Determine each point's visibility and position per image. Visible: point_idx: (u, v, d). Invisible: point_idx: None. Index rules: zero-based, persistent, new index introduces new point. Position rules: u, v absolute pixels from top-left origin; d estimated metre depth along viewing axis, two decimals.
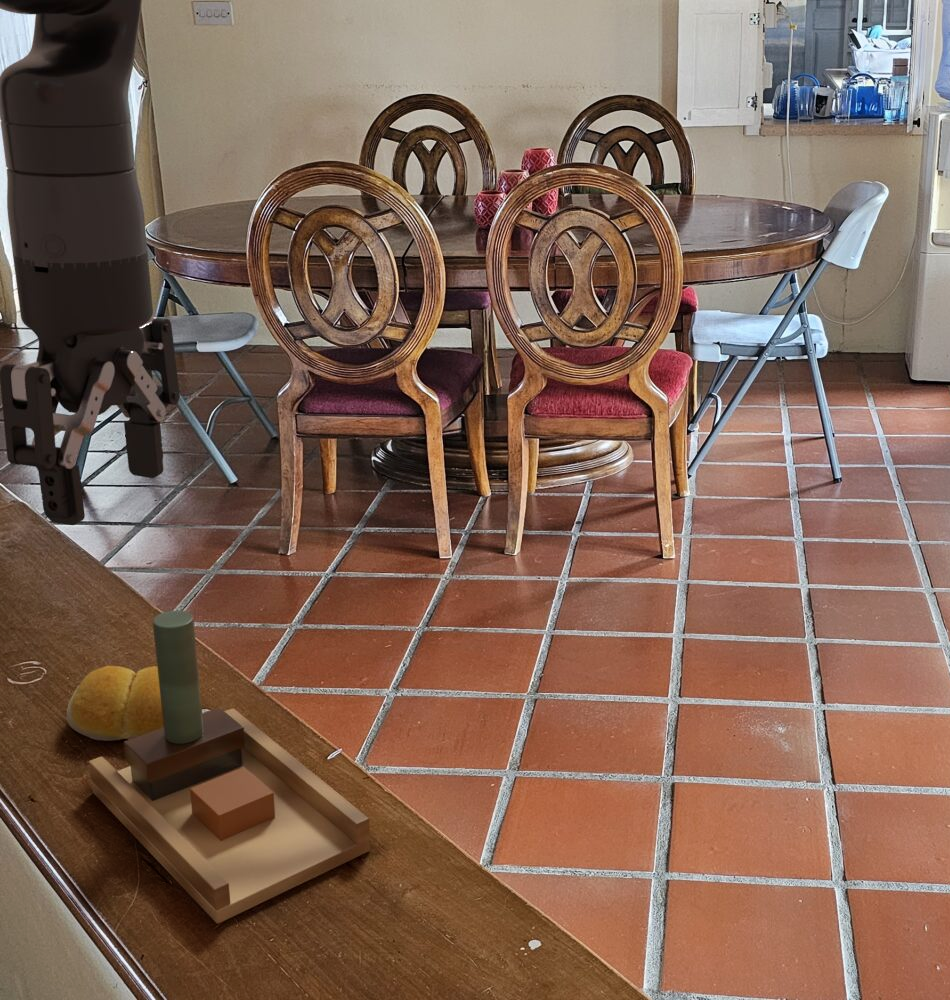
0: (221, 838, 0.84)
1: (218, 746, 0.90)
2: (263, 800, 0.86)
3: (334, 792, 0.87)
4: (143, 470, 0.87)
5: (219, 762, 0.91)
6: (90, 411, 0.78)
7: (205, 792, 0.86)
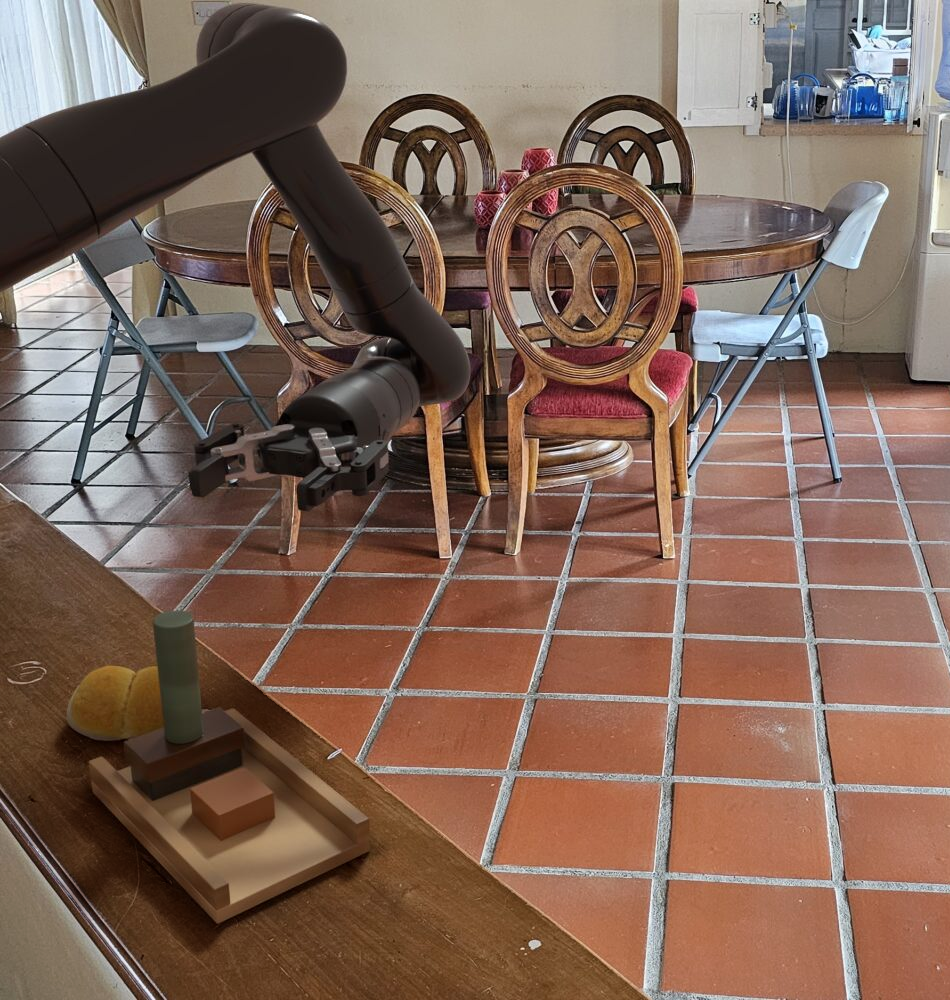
0: (221, 838, 0.84)
1: (218, 746, 0.90)
2: (263, 800, 0.86)
3: (334, 792, 0.87)
4: (202, 484, 0.96)
5: (219, 762, 0.91)
6: None
7: (205, 792, 0.86)
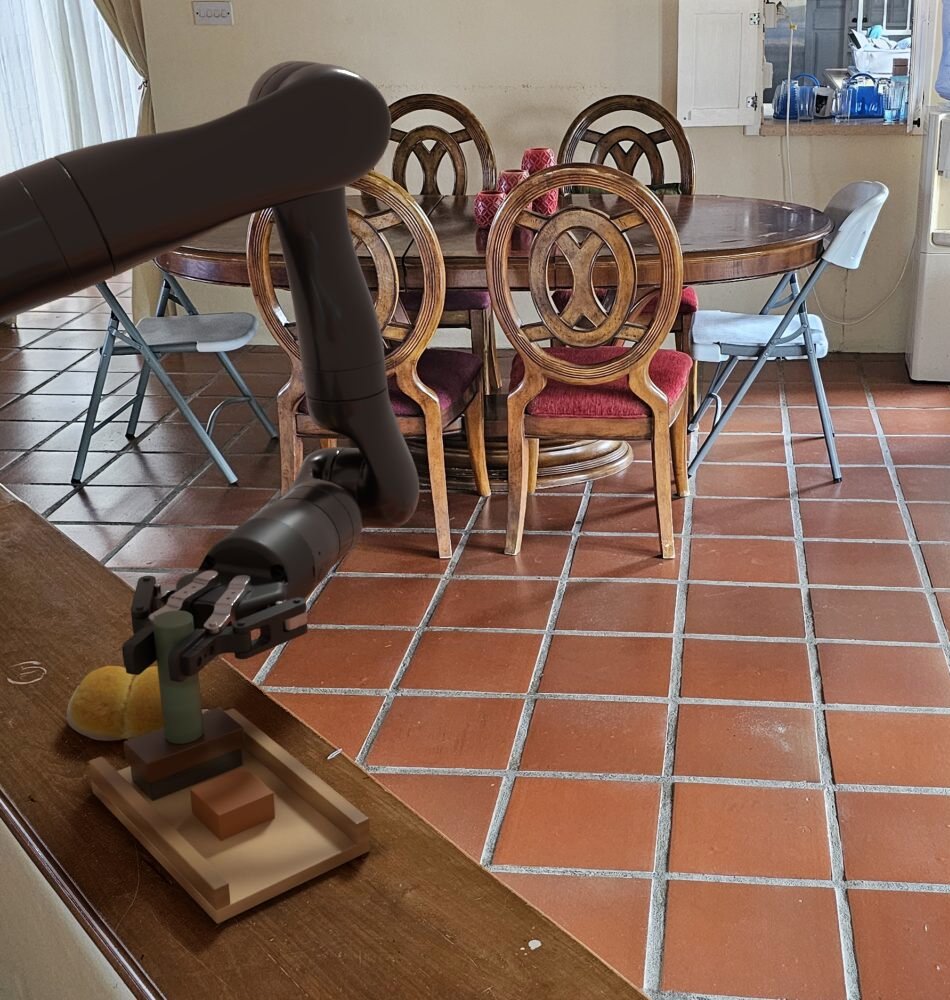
0: (221, 838, 0.84)
1: (218, 746, 0.90)
2: (263, 800, 0.86)
3: (334, 792, 0.87)
4: (138, 660, 0.85)
5: (219, 762, 0.91)
6: None
7: (205, 792, 0.86)
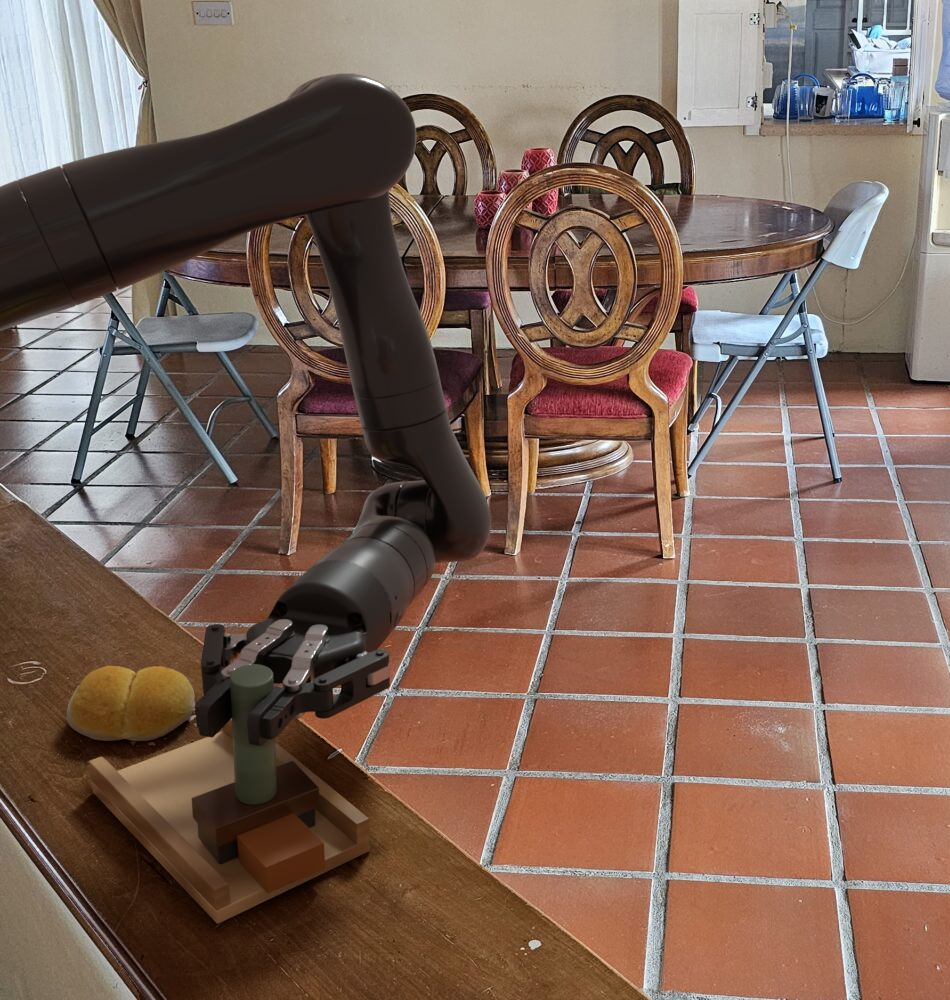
0: (268, 891, 0.80)
1: (291, 808, 0.84)
2: (313, 851, 0.81)
3: (334, 792, 0.87)
4: (212, 721, 0.79)
5: None
6: None
7: (253, 840, 0.81)
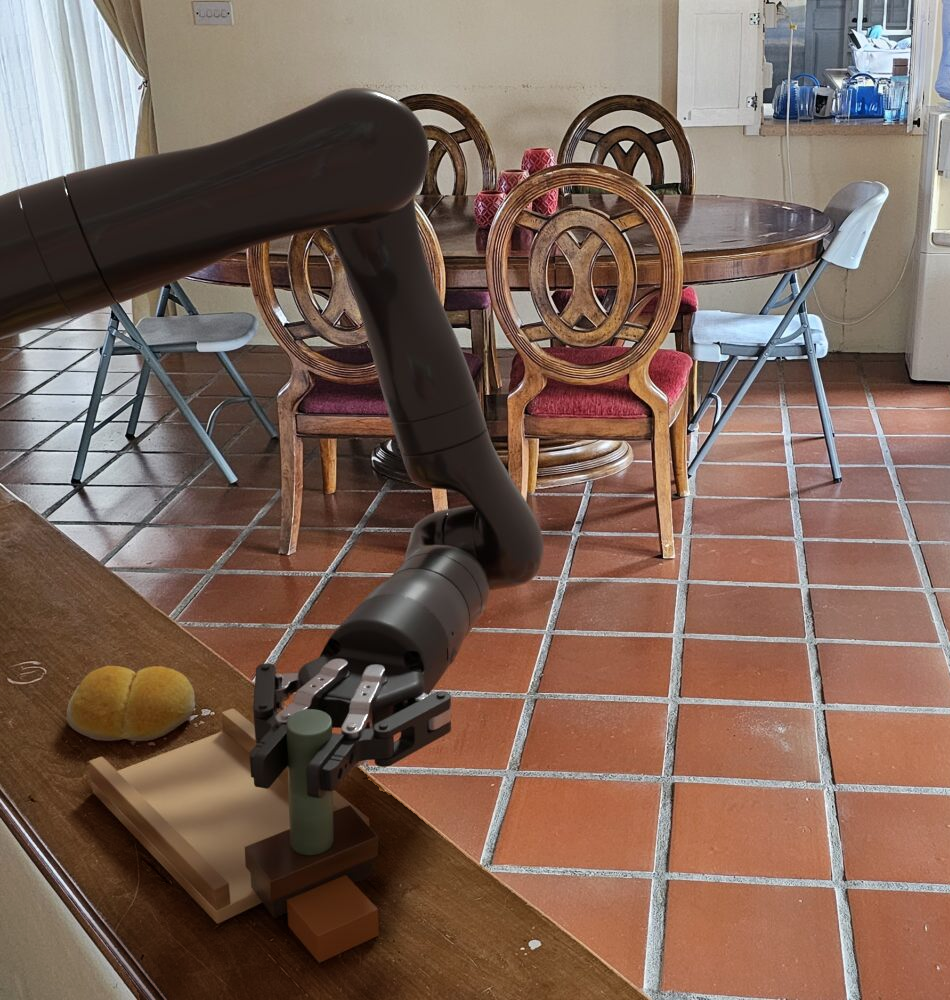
0: (319, 960, 0.76)
1: (349, 858, 0.80)
2: (366, 917, 0.77)
3: (334, 792, 0.87)
4: (268, 771, 0.74)
5: (348, 873, 0.80)
6: None
7: (303, 905, 0.77)
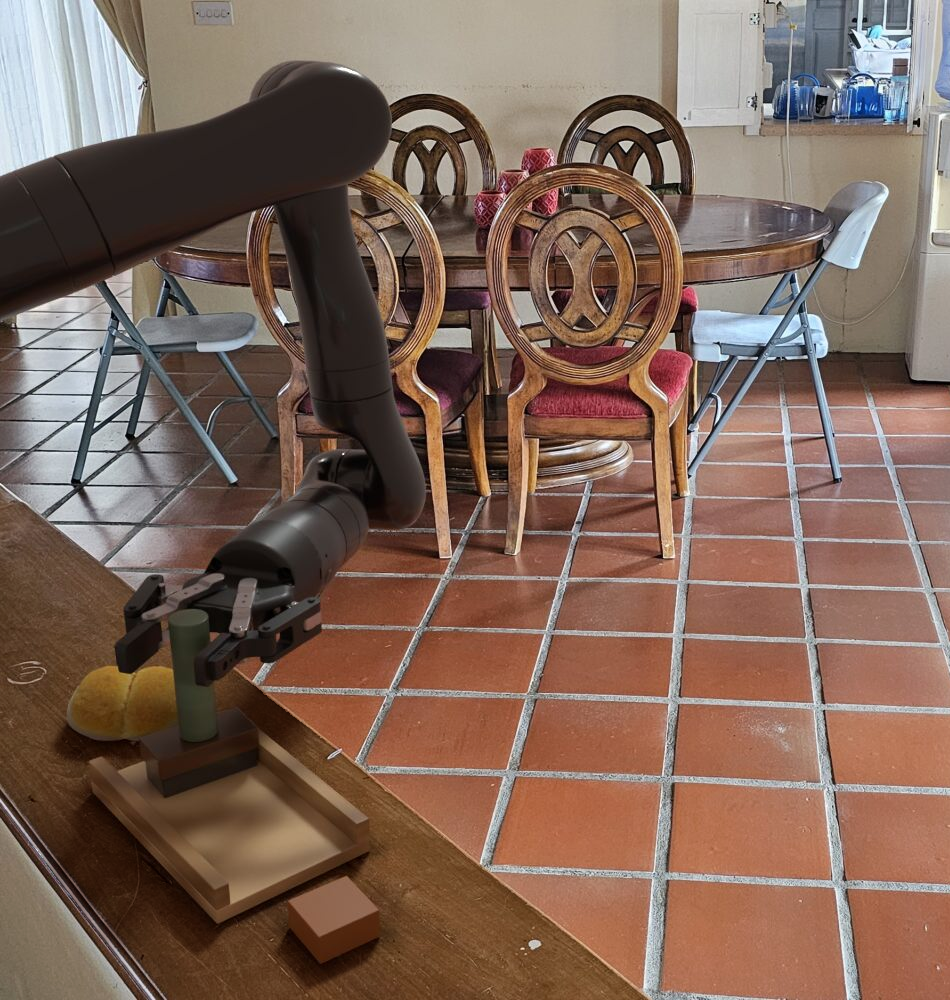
0: (321, 961, 0.76)
1: (232, 746, 0.90)
2: (368, 919, 0.77)
3: (334, 792, 0.87)
4: (130, 659, 0.85)
5: (233, 762, 0.91)
6: None
7: (304, 906, 0.77)
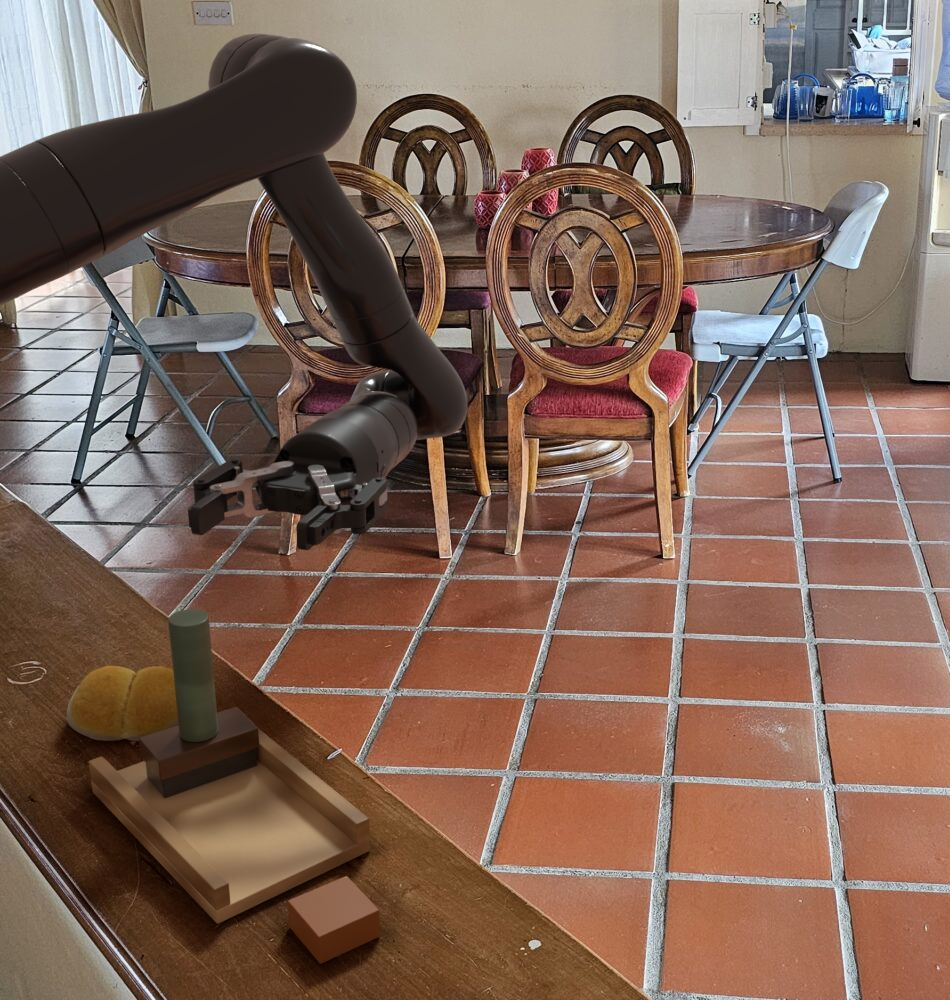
0: (321, 961, 0.76)
1: (232, 746, 0.90)
2: (368, 919, 0.77)
3: (334, 792, 0.87)
4: (202, 521, 0.96)
5: (233, 762, 0.91)
6: None
7: (304, 906, 0.77)
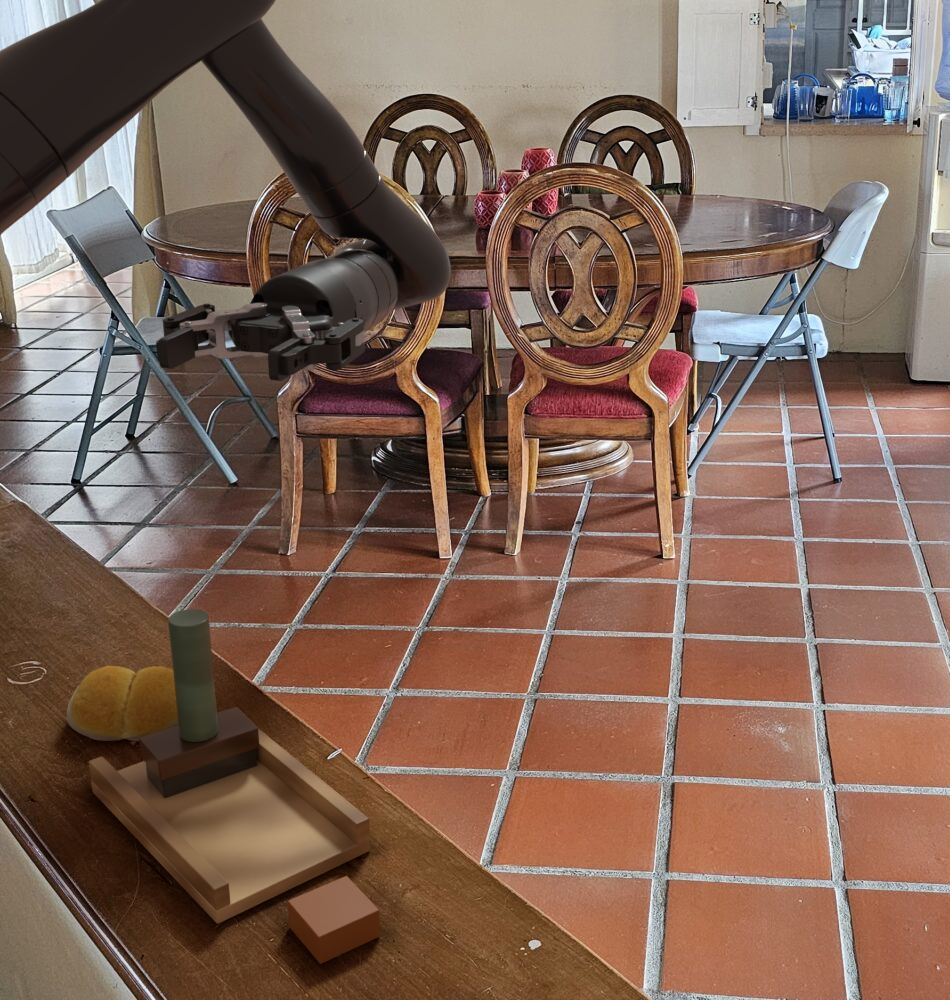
0: (321, 961, 0.76)
1: (232, 746, 0.90)
2: (368, 919, 0.77)
3: (334, 792, 0.87)
4: (170, 354, 0.93)
5: (233, 762, 0.91)
6: None
7: (304, 906, 0.77)
